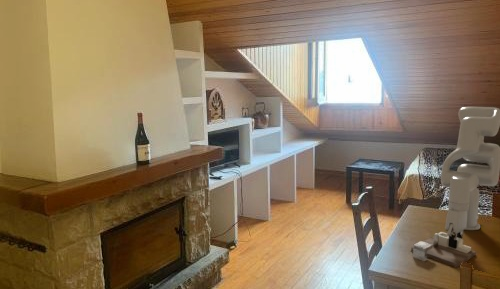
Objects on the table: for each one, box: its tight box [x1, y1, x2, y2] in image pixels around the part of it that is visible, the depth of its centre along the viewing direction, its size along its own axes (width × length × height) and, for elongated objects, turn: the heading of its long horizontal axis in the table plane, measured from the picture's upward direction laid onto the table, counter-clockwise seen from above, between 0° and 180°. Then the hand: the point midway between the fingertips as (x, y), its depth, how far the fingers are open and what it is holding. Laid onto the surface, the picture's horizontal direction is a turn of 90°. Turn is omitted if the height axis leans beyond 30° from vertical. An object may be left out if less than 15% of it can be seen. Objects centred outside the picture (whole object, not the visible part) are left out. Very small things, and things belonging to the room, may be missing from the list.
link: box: [437, 231, 472, 253], centre depth 164 cm, size 13×5×4 cm, turn 38°
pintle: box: [433, 233, 439, 247], centre depth 165 cm, size 2×2×6 cm
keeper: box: [412, 240, 433, 262], centre depth 159 cm, size 6×5×6 cm
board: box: [410, 236, 477, 268], centre depth 163 cm, size 17×19×2 cm
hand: (455, 245), depth 164 cm, fingers closed on link, 4 cm apart
